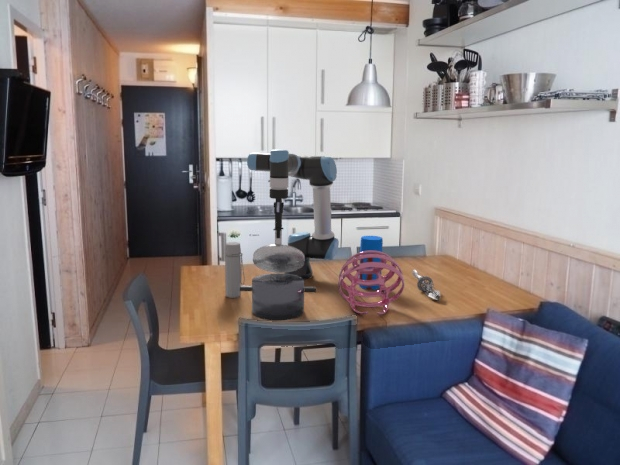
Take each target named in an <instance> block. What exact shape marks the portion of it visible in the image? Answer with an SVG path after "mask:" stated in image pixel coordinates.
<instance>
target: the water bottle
mask: <svg viewBox="0 0 620 465" xmlns="http://www.w3.org/2000/svg"><path fill="white" fill-rule="evenodd" d="M243 255H244V253H242V250H241V243H240V242H238V241H237V242H236V241H230V242H225V250H224V264H225V266H224V268H225V269H224V272H225V274H224V276H225V278H224V279H225V281H224V282H225V283H224V284H225V285H224V286H225V288H224V289H225V291H224V292H225V297H227V298H228V299H229V298H230V299H236V298H240V296H241V293H242V291H240V285H245V281H246V280H245V272H244V269H243V268H244V262H243ZM242 276H243V281H242ZM242 282H243V283H242Z"/></svg>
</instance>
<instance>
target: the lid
mask: <svg viewBox="0 0 620 465" xmlns="http://www.w3.org/2000/svg"><path fill="white" fill-rule="evenodd" d="M252 262H253V265H254V266H256V267H257V268H258V269H260V270H262V271H266V272H269V273H287V272H292V271H296V270H298V269H300V268H301V267H302V266H303V265H304V263H305V256H304V254H303V253H302V252H301V251H300V250H299V249H297V248H294V247H291V246H288V244H287V245H286V244H282V245H275V244H268V245H263V246H261V247H258V248H257V249H256V250H255V251H253V254H252Z"/></svg>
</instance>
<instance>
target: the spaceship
mask: <svg viewBox="0 0 620 465" xmlns="http://www.w3.org/2000/svg"><path fill="white" fill-rule="evenodd" d="M412 275H413V277H414V278H417V284H416V285H417V286H416V287H417V289H418V290H419V291H420V292H424V294H425V295H426V297H429V298H432V299H433V300H436V301H440V299H441V292H440V290H438V289H436V287H434V286H435V283H433V282H434V281H433V278H431V277H430V276H427V275H426V276H425V275H423V274H422V275H420V274H419V271H417V269H413V270H412Z"/></svg>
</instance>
